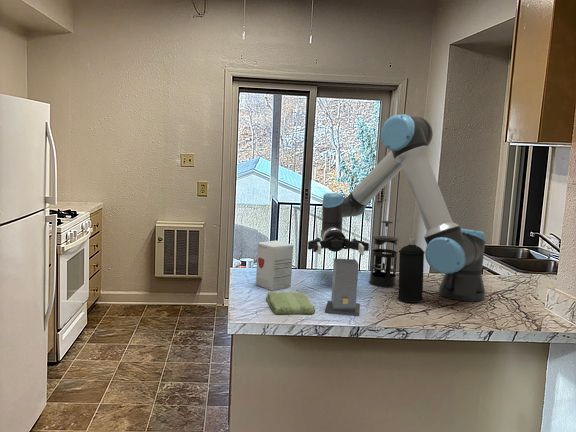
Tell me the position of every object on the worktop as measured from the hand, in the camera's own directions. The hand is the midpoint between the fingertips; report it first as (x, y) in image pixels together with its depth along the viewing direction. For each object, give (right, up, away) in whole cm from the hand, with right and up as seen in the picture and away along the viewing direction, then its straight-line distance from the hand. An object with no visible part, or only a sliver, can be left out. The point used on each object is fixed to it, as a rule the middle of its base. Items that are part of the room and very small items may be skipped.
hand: (341, 250), depth 171 cm
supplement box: (-22, -13, +15) cm, 30 cm away
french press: (+17, -14, +26) cm, 34 cm away
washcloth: (-16, -17, -7) cm, 25 cm away
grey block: (0, -17, -8) cm, 18 cm away
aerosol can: (+23, -17, +6) cm, 29 cm away
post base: (0, -17, -8) cm, 19 cm away
